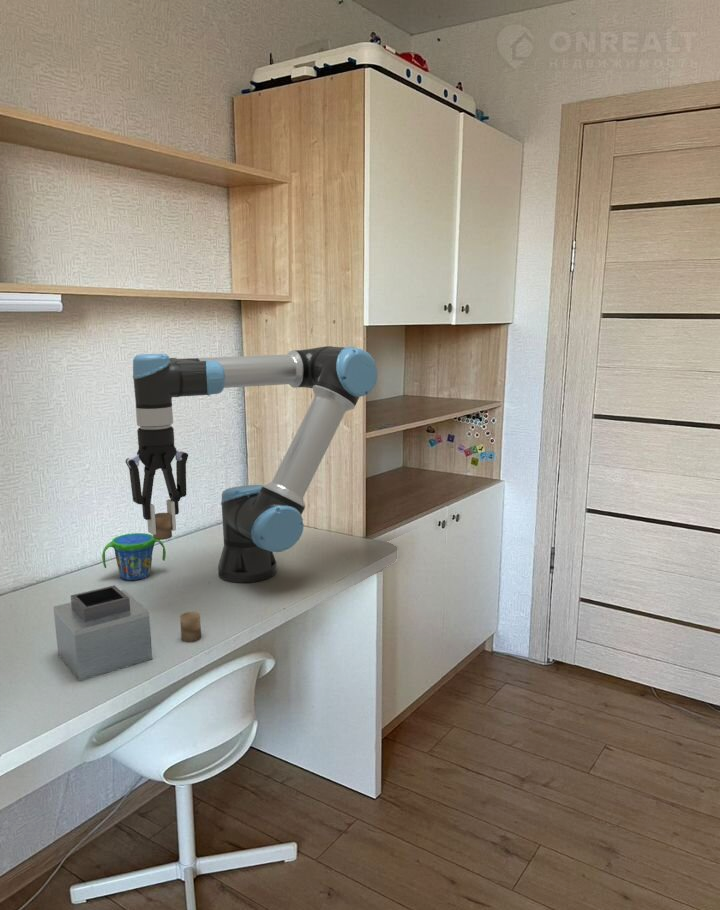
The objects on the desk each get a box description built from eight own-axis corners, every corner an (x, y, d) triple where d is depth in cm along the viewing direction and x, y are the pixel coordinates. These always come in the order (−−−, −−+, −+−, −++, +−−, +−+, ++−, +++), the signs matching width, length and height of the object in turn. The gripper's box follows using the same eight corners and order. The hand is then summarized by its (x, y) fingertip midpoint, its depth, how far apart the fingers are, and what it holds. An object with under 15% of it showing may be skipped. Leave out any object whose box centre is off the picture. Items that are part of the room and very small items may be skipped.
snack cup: (166, 566, 192) (164, 530, 190) (167, 580, 182) (164, 541, 180) (105, 572, 188) (102, 535, 186) (102, 586, 178) (99, 547, 176)
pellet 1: (167, 533, 161) (166, 511, 160) (174, 537, 158) (173, 515, 157) (150, 536, 159) (149, 514, 158) (157, 540, 155) (156, 518, 154)
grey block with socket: (127, 634, 151) (122, 578, 149) (152, 658, 140) (148, 598, 138) (58, 653, 143) (52, 594, 140) (79, 681, 132) (73, 617, 130)
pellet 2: (196, 632, 152) (195, 610, 151) (204, 638, 149) (203, 616, 148) (178, 637, 150) (177, 614, 149) (186, 644, 147) (184, 621, 146)
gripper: (185, 420, 161) (191, 520, 166) (109, 428, 151) (118, 534, 156) (199, 424, 156) (205, 527, 160) (122, 432, 145) (130, 542, 150)
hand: (162, 530), depth 158 cm, fingers closed on pellet 1, 4 cm apart
